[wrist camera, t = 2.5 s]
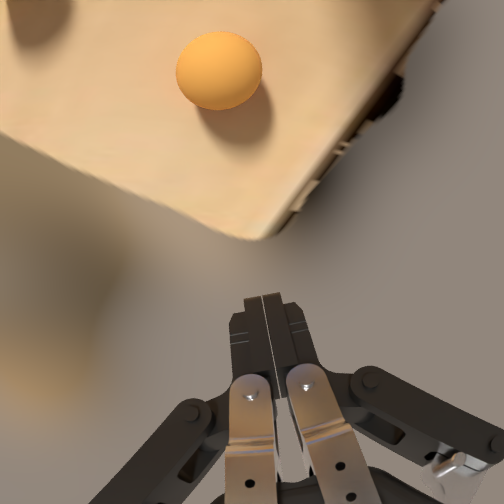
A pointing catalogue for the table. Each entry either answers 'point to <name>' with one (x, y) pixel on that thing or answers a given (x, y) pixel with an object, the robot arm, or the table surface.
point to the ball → (219, 70)
